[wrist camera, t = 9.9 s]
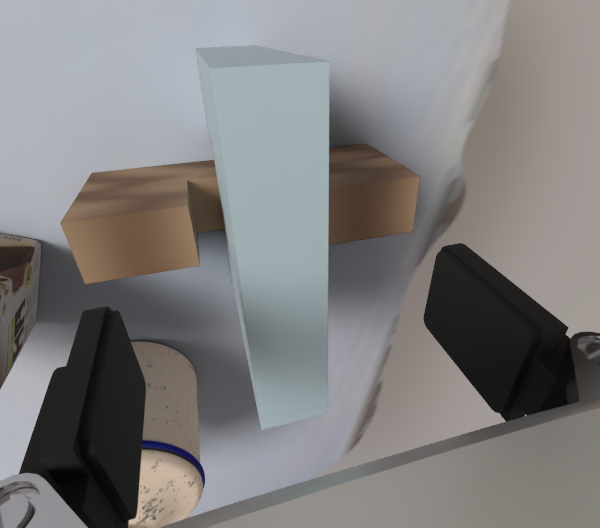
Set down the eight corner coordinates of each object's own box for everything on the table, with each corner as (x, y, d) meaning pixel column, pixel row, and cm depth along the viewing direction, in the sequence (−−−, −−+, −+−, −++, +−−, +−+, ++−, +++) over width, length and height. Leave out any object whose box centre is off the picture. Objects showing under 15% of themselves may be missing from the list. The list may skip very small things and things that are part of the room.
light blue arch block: (195, 48, 19) (210, 68, 9) (255, 45, 20) (329, 61, 10) (231, 280, 26) (261, 430, 17) (274, 273, 27) (327, 413, 17)
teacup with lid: (66, 335, 25) (-6, 521, 16) (205, 336, 28) (218, 493, 19) (73, 450, 31) (24, 640, 21) (190, 441, 34) (193, 604, 24)
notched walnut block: (108, 223, 22) (85, 284, 17) (91, 173, 21) (60, 222, 15) (363, 189, 25) (412, 231, 20) (366, 143, 24) (420, 176, 19)
